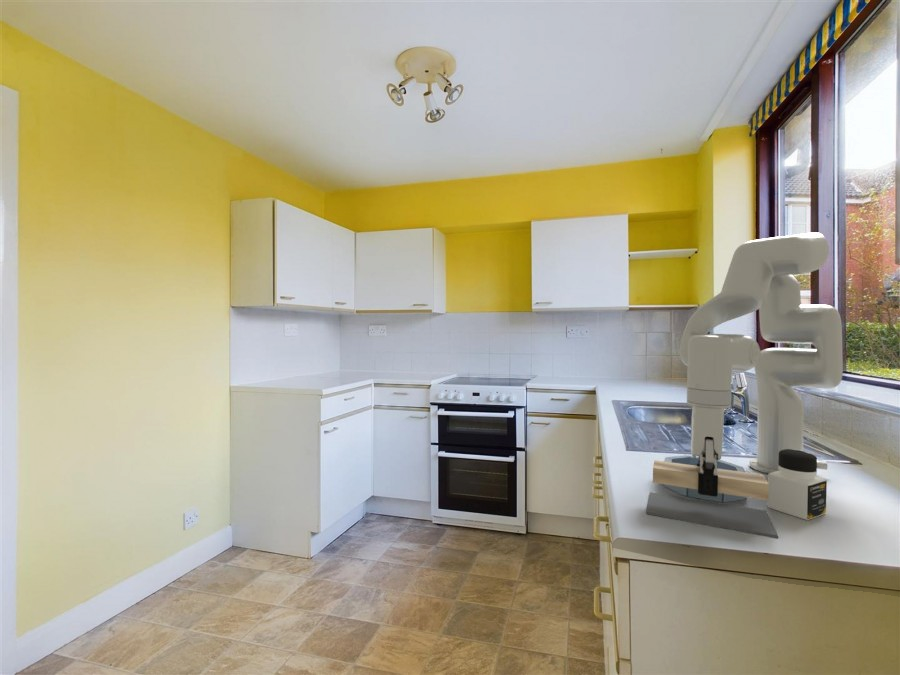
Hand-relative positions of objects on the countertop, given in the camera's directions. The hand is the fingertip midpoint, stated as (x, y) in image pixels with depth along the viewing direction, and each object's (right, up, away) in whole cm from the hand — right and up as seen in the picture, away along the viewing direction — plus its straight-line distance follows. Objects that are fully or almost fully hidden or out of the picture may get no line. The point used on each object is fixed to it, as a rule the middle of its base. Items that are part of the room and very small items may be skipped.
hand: (706, 488), depth 87 cm
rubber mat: (0, -5, 0) cm, 5 cm away
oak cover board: (0, 0, 0) cm, 0 cm away
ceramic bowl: (+8, -5, +14) cm, 17 cm away
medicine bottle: (+19, -5, +2) cm, 20 cm away
